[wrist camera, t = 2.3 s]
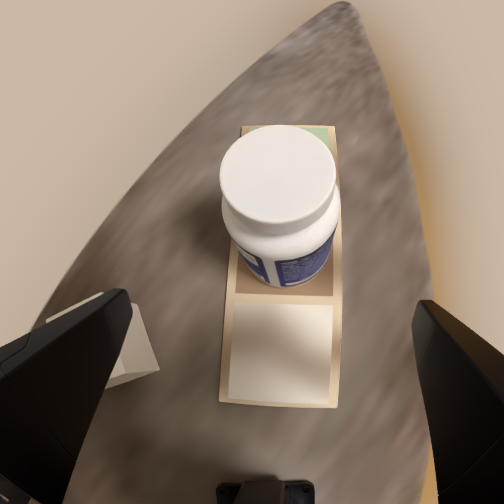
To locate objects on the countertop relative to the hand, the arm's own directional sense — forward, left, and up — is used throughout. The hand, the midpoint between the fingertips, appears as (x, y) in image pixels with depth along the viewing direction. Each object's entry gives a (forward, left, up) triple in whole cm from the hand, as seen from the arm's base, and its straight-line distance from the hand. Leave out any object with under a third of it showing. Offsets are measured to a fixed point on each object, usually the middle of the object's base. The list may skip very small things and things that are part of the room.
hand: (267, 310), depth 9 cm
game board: (+5, -1, -12) cm, 13 cm away
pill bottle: (+5, -1, -12) cm, 13 cm away
